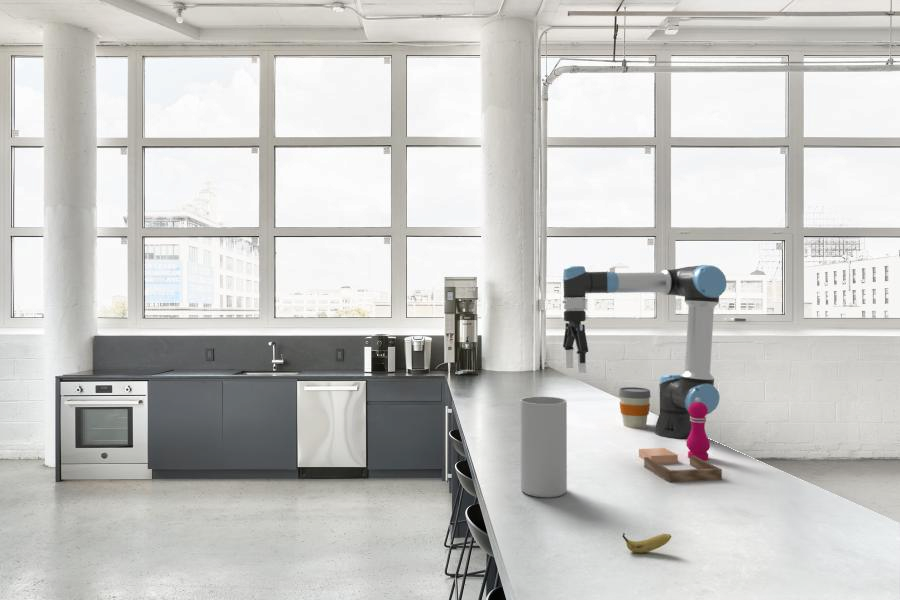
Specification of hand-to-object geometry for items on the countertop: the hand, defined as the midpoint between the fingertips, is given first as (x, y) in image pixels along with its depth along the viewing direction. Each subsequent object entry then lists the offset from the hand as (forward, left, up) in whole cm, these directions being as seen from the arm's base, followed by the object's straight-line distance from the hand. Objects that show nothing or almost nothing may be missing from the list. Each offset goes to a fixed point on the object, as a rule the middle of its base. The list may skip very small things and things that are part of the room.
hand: (575, 370), depth 215 cm
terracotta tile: (-21, +19, -28) cm, 40 cm away
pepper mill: (-35, +19, -28) cm, 49 cm away
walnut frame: (-21, +34, -27) cm, 49 cm away
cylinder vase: (+25, +45, -28) cm, 58 cm away
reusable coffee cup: (-36, -32, -28) cm, 56 cm away
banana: (+15, +87, -28) cm, 92 cm away
